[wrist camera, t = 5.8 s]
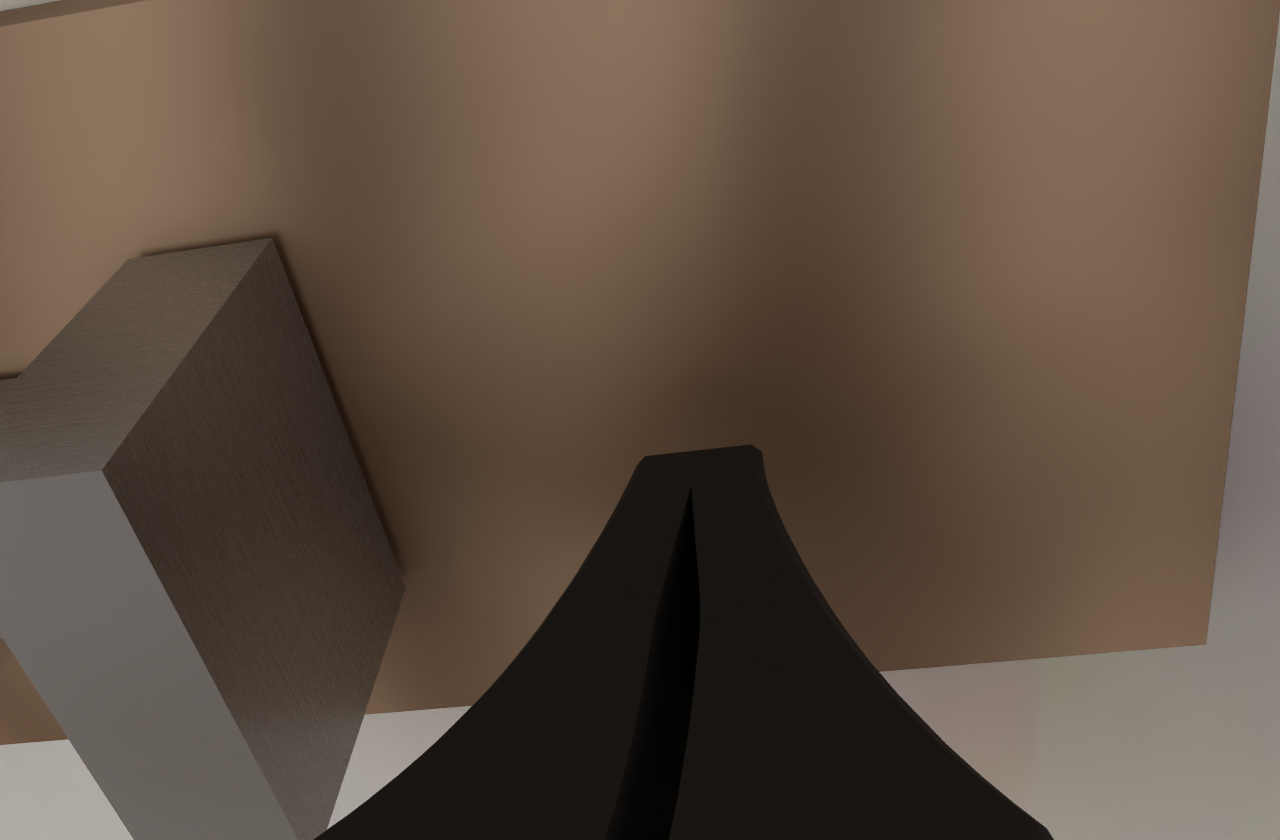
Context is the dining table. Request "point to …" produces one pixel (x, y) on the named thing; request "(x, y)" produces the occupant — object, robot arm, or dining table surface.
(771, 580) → the robot arm
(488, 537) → the launcher board
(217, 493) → the grey h-shaped block
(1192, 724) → the dining table surface
